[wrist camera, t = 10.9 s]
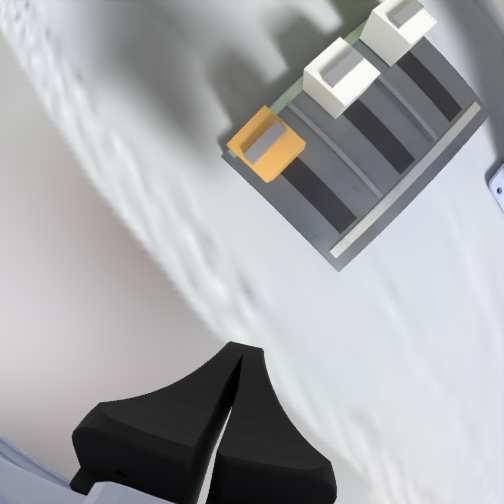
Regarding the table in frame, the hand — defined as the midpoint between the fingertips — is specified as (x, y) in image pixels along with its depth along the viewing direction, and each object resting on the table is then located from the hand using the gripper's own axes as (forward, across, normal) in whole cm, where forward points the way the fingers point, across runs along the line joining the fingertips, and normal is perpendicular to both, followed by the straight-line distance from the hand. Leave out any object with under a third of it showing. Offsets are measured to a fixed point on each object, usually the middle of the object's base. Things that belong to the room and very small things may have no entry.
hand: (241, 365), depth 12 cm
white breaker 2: (+9, -5, -17) cm, 20 cm away
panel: (+10, -4, -11) cm, 16 cm away
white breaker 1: (+9, -2, -13) cm, 15 cm away
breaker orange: (+9, +1, -8) cm, 12 cm away
